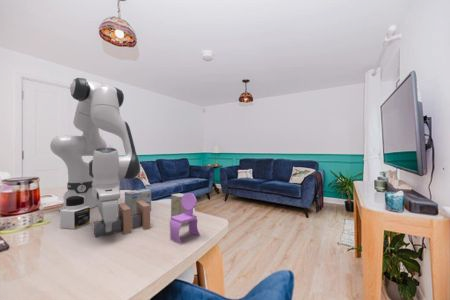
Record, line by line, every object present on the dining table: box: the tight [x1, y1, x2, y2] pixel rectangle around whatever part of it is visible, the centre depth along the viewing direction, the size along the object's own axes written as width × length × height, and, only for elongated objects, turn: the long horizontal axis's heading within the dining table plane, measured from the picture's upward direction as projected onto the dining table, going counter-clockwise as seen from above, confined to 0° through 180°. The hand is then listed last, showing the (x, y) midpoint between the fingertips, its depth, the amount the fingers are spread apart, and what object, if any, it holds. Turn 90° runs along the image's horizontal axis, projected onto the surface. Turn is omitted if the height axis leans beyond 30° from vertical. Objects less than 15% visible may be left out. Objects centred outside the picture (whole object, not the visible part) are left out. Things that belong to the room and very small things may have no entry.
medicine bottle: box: [59, 195, 91, 230], centre depth 82 cm, size 7×7×12 cm
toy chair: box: [169, 192, 201, 245], centre depth 70 cm, size 8×9×15 cm
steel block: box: [93, 213, 142, 239], centre depth 77 cm, size 4×18×5 cm, turn 128°
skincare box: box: [170, 192, 188, 227], centre depth 82 cm, size 6×4×12 cm
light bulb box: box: [124, 188, 152, 215], centre depth 99 cm, size 11×7×11 cm, turn 144°
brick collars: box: [117, 200, 151, 235], centre depth 80 cm, size 11×9×9 cm
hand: (106, 228), depth 74 cm, fingers open, 6 cm apart
